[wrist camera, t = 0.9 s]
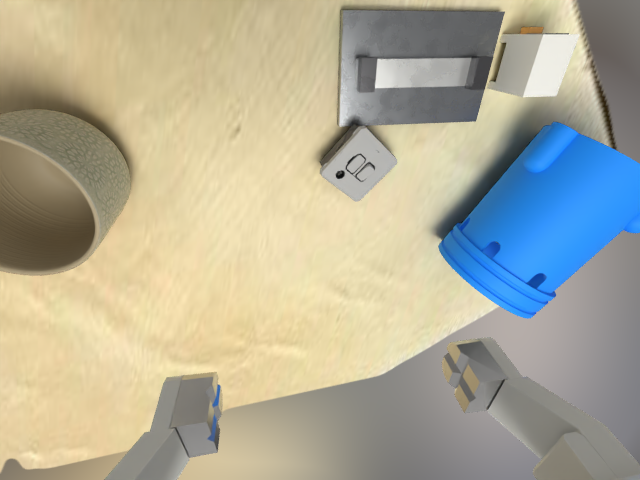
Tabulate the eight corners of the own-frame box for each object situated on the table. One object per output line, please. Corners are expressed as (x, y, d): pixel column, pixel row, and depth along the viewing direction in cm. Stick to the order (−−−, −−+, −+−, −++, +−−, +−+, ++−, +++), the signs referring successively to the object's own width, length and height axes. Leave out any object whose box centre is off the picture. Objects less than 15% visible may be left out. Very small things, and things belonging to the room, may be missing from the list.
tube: (490, 263, 70) (558, 331, 54) (417, 229, 62) (472, 298, 46) (584, 165, 59) (703, 214, 44) (511, 108, 51) (626, 143, 35)
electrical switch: (317, 175, 46) (367, 132, 42) (312, 155, 50) (357, 113, 46) (356, 204, 52) (402, 169, 48) (349, 184, 56) (392, 149, 51)
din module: (503, 27, 44) (545, 26, 38) (535, 27, 45) (582, 26, 38) (487, 88, 49) (522, 97, 42) (516, 87, 49) (556, 96, 43)
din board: (340, 10, 40) (348, 8, 37) (497, 12, 43) (520, 10, 39) (337, 124, 48) (343, 131, 44) (470, 119, 51) (487, 125, 47)
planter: (85, 78, 40) (4, 99, 27) (166, 190, 50) (133, 244, 37) (-29, 128, 41) (-158, 171, 28) (71, 229, 51) (8, 295, 38)
